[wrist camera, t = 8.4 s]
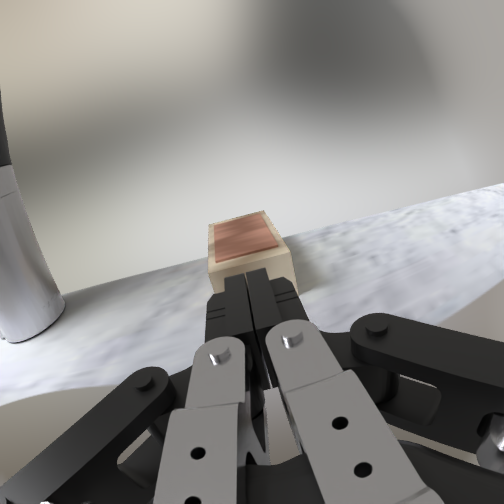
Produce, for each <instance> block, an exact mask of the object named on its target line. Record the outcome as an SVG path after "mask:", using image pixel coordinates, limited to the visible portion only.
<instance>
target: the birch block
mask: <svg viewBox="0 0 504 504" xmlns="http://www.w3.org/2000/svg"><path fill="white" fill-rule="evenodd" d="M208 241H209V242H208V275H209V278H210V281H211V284H212V287H213V290H214V293H215V294H216V293H220V292H224V291H225V289H224V278H225V277H229V276H233V275H237V274H241V273H244V274H245V277H246V272H249V271H253V270H256V269H260V268H264V267H265V268H266V271H267V274H268V277H269V280H272V279H276V278H280V277H285V278H286V279H288V280H290V281H291V282H292V283H293V285H294V288H295V290H296V292H297V294H298V288H297V283H296V278H295V272H294V267H293V262H292V257H291V252H290V250H289V249H288V247H287V245H286V244H285V242H284V241H283V239H282V238H281V236H280V235H279V233H278V232H277V230H276V228H275V227H274V226H273V224H272V222H271V221H270V219H269V218H268V216H267V215H266V213H265V212H264V211H259V212H256V213H252V214H248V215H244V216H240V217H236V218H232V219H229V220H225V221H221V222H217V223H214V224H210V225H209V238H208ZM246 281H247V277H246ZM247 284H248V283H247ZM298 296H299V294H298Z"/></svg>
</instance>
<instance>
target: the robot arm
mask: <svg viewBox="0 0 504 504" xmlns="http://www.w3.org/2000/svg"><path fill="white" fill-rule="evenodd" d="M246 277H247V281H246ZM246 277H245V274H244V273H241V274H237V275H233V276H229V277H225V278H224V289H225V291H224V292H220V293H216V294H213V295H212V297H211V298H210V299H209V301H208V302H207V311H206V312H207V314H206V328H205V344H203V345H202V346H201V347H200V348H199V349H198V350H197V352H196V353H195V356H194V361H193V365H192V366H191V367H189V368H187V369H185V370H183V371H181V372H178V373H176V374H174V375H171V376H168V374H167V372H166V371H165V370H164V369H162V368H159V367H146V368H143V369H140V370H138V371H136V372H134V373H133V374H131V375H130V376H129V377H128V378H127V379H125V380H124V381H123V382H122V383H121V384H120V385H119V386H117V387H116V388H115V389H114V390H113V391H112V392H111V393H109V394H108V395H107V396H106V397H105V398H104V399H103V400H101V401H100V402H99V403H98V404H97V405H96V406H95V407H93V408H92V409H91V410H90V411H89V412H88V413H86V414H85V415H84V416H83V417H82V418H81V419H80V420H78V421H77V422H76V423H75V424H74V425H72V426H71V427H70V428H69V429H68V430H67V431H66V432H64V434H62V435H61V436H60V437H59V438H57V439H56V440H55V441H54V442H53V443H52V444H50V445H49V446H48V447H47V448H46V449H45V450H43V451H42V452H41V453H40V454H39V455H38V456H36V457H35V458H34V459H33V460H32V461H30V462H29V463H28V464H27V465H26V466H25V467H23V468H22V469H21V470H20V471H19V472H17V473H16V474H15V475H14V476H13V477H12V478H10V479H9V480H8V481H7V482H6V483H4V484H3V485H2V486H1V487H0V504H504V342H500V341H495V340H491V339H487V338H483V337H478V336H474V335H470V334H466V333H461V332H458V331H453V330H449V329H445V328H441V327H437V326H433V325H429V324H425V323H421V322H417V321H414V320H410V319H406V318H402V317H398V316H394V315H390V314H385V313H373V314H368V315H365V316H363V317H361V318H359V319H358V320H356V321H355V322H354V323H353V325H352V326H351V329H350V332H344V333H327V332H323V331H320V330H318V328H317V327H316V326H315V325H314V324H313V323H311V322H310V321H309V319H308V317H307V314H306V312H305V310H304V308H303V305H302V303H301V301H300V299H299V297H298V294H297V292H296V290H295V288H294V285H293V283H292V282H291V281H290V280H288V279H286V278H285V277H280V278H276V279H272V280H269V277H268V274H267V271H266V268H265V267H264V268H260V269H256V270H253V271H249V272H246ZM247 283H248V284H247ZM64 307H65V302H64V300H63V298H62V296H61V294H60V292H59V290H58V288H57V285H56V283H55V281H54V279H53V277H52V275H51V273H50V270H49V268H48V266H47V263H46V261H45V259H44V256H43V254H42V251H41V249H40V247H39V244H38V242H37V239H36V237H35V234H34V231H33V229H32V226H31V223H30V221H29V218H28V215H27V212H26V210H25V206H24V203H23V200H22V197H21V194H20V191H19V188H18V185H17V181H16V178H15V175H14V171H13V167H12V163H11V160H10V155H9V149H8V141H7V136H6V131H5V125H4V120H3V112H2V103H1V92H0V338H5V339H6V340H7V341H8V342H20V341H23V340H26V339H28V338H31V337H33V336H35V335H36V334H38V333H40V332H41V331H43V330H44V329H46V328H47V327H48V326H49V325H51V324H52V323H53V322H54V321H55V320H56V319H57V318H58V317H59V316H60V314H61V313H62V312H63V310H64ZM267 370H268V372H267ZM268 373H269V377H270V380H271V383H272V387H273V388H275V387H278V388H279V392H280V395H281V399H282V402H283V406H284V409H285V412H286V414H287V418H288V421H289V424H290V427H291V429H292V432H293V435H294V438H295V441H296V444H297V447H298V450H299V453H300V455H298V456H296V457H294V458H292V459H290V460H288V461H286V462H283V463H281V464H278V465H271V464H270V457H269V444H268V443H269V442H268V430H267V413H266V408H265V405H264V404H265V398H264V392H263V390H267V389H270V383H269V377H268ZM400 374H401V375H404V376H407V377H410V378H413V379H416V380H419V381H423V382H425V383H429V384H431V385H434V386H435V387H437V388H434V387H431V386H428V385H425V384H422V383H419V382H415V381H412V380H409V379H406V378H403V377H400ZM387 423H388V424H390V425H393V426H396V427H398V428H401V429H403V430H406V431H408V432H411V433H414V434H416V435H419V436H422V437H425V438H428V439H430V440H434V441H437V442H439V443H442V444H445V445H448V446H451V447H454V448H457V449H461V450H464V451H467V452H470V453H474V454H476V455H477V460H478V463H479V465H480V466H481V467H480V466H477V465H474V464H471V463H468V462H465V461H462V460H459V459H457V458H454V457H451V456H448V455H446V454H443V453H441V452H438V451H436V450H433V449H431V448H428V447H425V446H423V445H420V444H417V443H413V442H409V441H404V440H397V439H396V437H395V436H394V434H393V433H392V431H391V429H390V428H389V426H388V424H387ZM146 429H147V430H148V431H149V432H150V434H151V436H150V437H149V438H148V439H147V440H146V441H145V442H144V443H143V444H142V445H141V446H140V447H139V448H137V449H136V450H135V451H134V452H133V453H132V454H131V455H130V456H129V457H128V458H127V459H126V460H125V461H124V462H123V463H121V464H118V465H117V459H118V457H119V456H120V454H121V453H122V452H123V451H124V450H125V449H126V448H127V447H128V446H129V445H131V444H132V443H133V442H134V441H135V440H136V439H137V438H138V437H139V436H140V435H141V434H142V433H143V432H144V431H145V430H146Z"/></svg>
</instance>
